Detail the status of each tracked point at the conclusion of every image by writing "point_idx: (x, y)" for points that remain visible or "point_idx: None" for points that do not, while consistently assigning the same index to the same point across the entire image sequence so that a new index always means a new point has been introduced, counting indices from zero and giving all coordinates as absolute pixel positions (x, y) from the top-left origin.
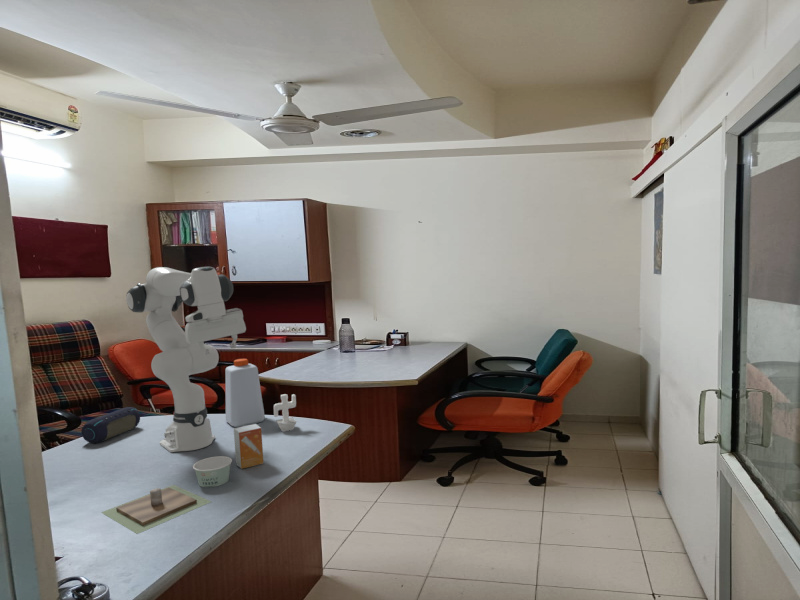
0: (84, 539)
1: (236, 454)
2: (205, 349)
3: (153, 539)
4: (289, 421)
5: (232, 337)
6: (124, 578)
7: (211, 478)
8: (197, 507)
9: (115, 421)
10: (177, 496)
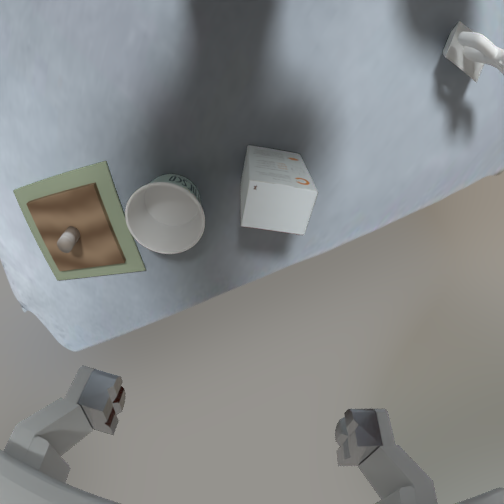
0: (11, 246)
1: (245, 164)
2: (87, 427)
3: (74, 298)
4: (470, 63)
5: (387, 500)
6: (59, 332)
7: (156, 234)
8: (124, 272)
9: None
10: (101, 231)
